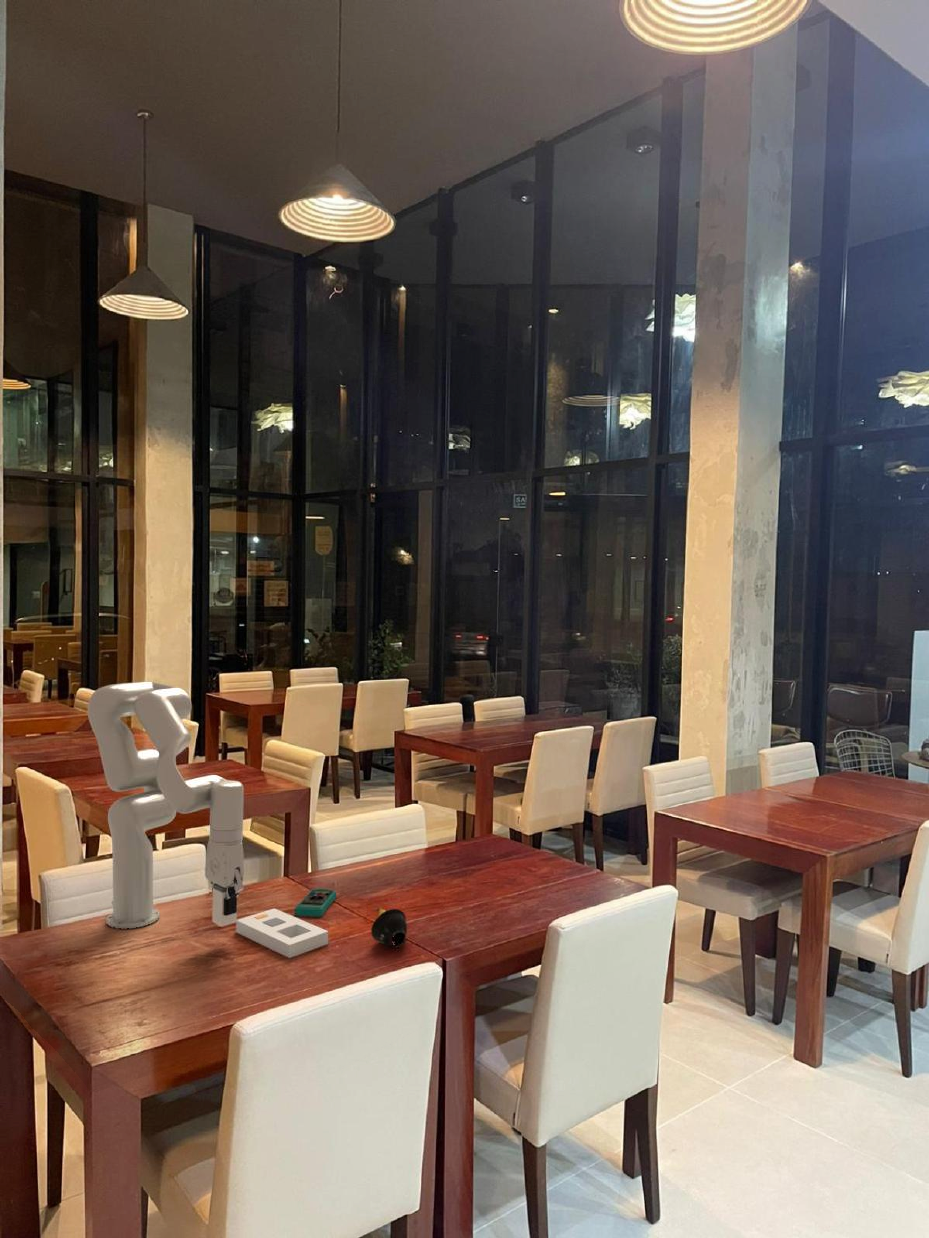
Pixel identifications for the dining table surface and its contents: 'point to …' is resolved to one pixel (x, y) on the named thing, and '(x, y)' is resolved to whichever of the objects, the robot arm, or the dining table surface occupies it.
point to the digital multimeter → (315, 903)
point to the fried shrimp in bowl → (390, 927)
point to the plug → (221, 907)
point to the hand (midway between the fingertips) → (224, 910)
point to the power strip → (282, 932)
